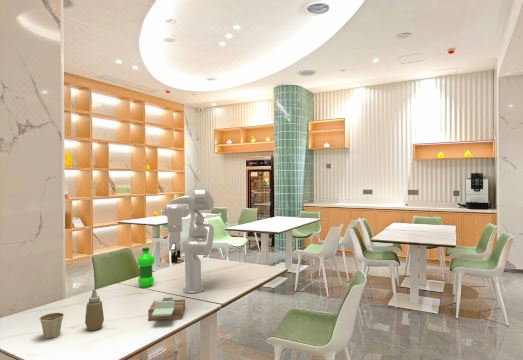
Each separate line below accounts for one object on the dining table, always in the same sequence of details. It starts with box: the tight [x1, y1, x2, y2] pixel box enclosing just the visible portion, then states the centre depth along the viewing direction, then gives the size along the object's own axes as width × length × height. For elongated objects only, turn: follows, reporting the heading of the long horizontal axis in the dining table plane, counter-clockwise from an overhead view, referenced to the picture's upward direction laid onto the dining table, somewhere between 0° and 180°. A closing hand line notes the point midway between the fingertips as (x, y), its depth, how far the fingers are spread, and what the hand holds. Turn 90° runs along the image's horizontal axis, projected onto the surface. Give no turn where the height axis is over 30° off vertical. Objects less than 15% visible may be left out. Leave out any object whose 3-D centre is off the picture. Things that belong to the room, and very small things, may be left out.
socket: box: [147, 299, 186, 322], centre depth 179 cm, size 14×16×5 cm
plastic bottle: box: [136, 246, 155, 288], centre depth 230 cm, size 10×10×25 cm
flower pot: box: [39, 312, 65, 339], centre depth 156 cm, size 9×9×9 cm
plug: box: [161, 296, 174, 301], centre depth 179 cm, size 4×4×8 cm
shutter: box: [152, 300, 174, 316], centre depth 169 cm, size 9×9×4 cm
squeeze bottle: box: [84, 288, 105, 331], centre depth 164 cm, size 8×8×18 cm
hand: (176, 260), depth 189 cm, fingers open, 9 cm apart
